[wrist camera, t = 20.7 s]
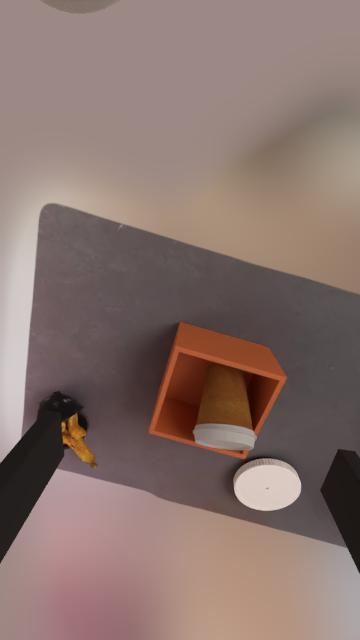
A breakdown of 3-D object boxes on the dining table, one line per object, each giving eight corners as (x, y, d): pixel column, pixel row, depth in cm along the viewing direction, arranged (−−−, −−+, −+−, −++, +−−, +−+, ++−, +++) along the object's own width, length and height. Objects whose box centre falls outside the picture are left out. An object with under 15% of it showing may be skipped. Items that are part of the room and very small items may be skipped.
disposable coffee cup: (265, 369, 41) (271, 449, 34) (230, 383, 48) (230, 451, 42) (217, 352, 38) (214, 436, 31) (188, 370, 45) (180, 441, 39)
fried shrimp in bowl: (60, 386, 44) (110, 475, 43) (79, 379, 55) (119, 450, 54) (11, 415, 43) (62, 508, 42) (41, 402, 54) (81, 476, 53)
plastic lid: (292, 500, 57) (296, 512, 54) (231, 497, 58) (232, 508, 55) (301, 455, 52) (306, 466, 50) (234, 452, 53) (236, 463, 51)
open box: (179, 321, 43) (175, 345, 34) (268, 347, 44) (287, 377, 35) (157, 395, 49) (148, 433, 40) (236, 417, 50) (244, 459, 41)
